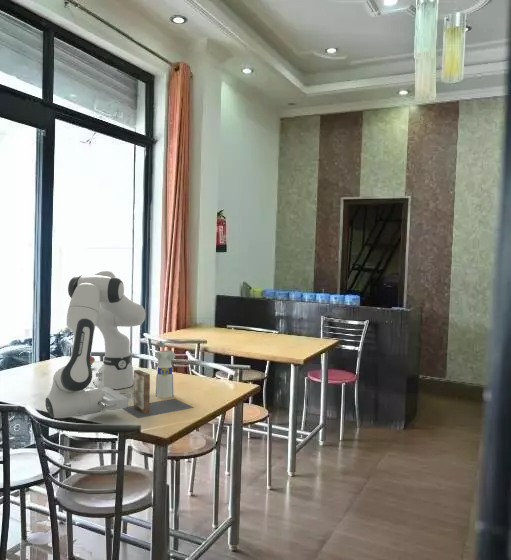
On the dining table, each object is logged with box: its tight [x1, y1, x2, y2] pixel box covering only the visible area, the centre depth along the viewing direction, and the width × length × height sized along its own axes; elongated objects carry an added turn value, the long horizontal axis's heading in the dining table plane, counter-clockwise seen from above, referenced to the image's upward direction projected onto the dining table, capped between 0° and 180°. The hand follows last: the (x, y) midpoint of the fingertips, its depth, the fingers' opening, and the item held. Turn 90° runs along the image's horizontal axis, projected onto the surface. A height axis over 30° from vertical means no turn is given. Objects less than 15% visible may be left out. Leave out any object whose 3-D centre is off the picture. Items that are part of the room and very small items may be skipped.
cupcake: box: [90, 356, 96, 366], centre depth 264 cm, size 9×8×12 cm
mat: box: [121, 398, 195, 419], centre depth 192 cm, size 16×24×1 cm, turn 128°
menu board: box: [133, 369, 151, 414], centre depth 188 cm, size 10×2×15 cm, turn 38°
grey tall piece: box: [155, 340, 176, 399], centre depth 211 cm, size 8×9×25 cm
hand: (129, 394), depth 185 cm, fingers closed
